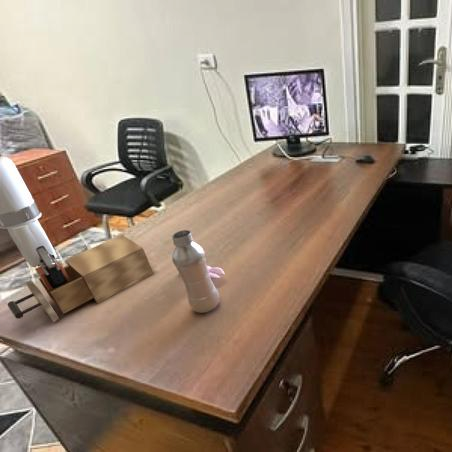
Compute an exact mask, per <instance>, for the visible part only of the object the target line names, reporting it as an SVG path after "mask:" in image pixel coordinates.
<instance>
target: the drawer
mask: <svg viewBox="0 0 452 452" xmlns="http://www.w3.org/2000/svg"><path fill="white" fill-rule="evenodd" d="M63 268H64V270H65V271H66V273H67V275H68V277H69V278H70V281H68V282H67V283H65V284H63V285H61V286H59V287H57V288H54V289H51V290H49V289H48V288H47V287H46V285H45V284H44V283H43V281H42V280H41V278H40V277H39V278H38V281H39V283H40V284H41V286H42V287H43V289H44V290H45V291H46V293H47V295H48V296H49V298H50V300H51V301H52V302H53V303H54V304H55V305H56V306H57V307H58V308H59V310H60V311H61V312H62V313H63V314H66V313H68V312H70V311H72V310H73V309H75V308H78V307H80V306H81V305H83V304H85V303H87V302H89V301H91V300H93V299H92V298H94V297H93V295H92V293H91V291H90V290H89V288H88V286H87V284H86V282H85V281H84V279H83V277H82V276H81V275H80V274H78V273H77V272H76V271H75V270H74V269H73V268H72V267H71V266H70V265H66V266H63ZM24 284H25V285H26V287H27V288H28V289H29V291H30V294H28V295H26V296H24V297H22V298H19V299H17V300H15V301H13V300H11V301H8V303H7V307H8V308H9V309H10V311H11V313H12V314H13V316H14V318H15V319H22V318H23V317H24V315H25V314H28V313H29V312H31V311H33V310H35V309H38V308H40V307H41V308H42V309H43V311H44V312H45V313H46V315H47V316H48V317H49V318H50V320H51V321H52V322H53V323H54V322H57V321H58V320H60V318H59V316H58V315H57V313H56V311H55V309H53V307H52V306H51V303H50V302H49V301H48V299H47V297H46V296H45V295H44V294H43V292H42V291H41V290H40V289H39V287H37V285H36V284H35V283H34V281H32V280H31V279H30V280H27V281H25V282H24ZM31 298H35V300H36V302H37V303H36V304H34V305H31V306H30V307H28V308H26V309H24V310H22V309H20V307H19V306H18V305H19V304H21V303H22V302H25V301H27V300H29V299H31Z"/></svg>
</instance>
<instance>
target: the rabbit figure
mask: <svg viewBox="0 0 452 452" xmlns="http://www.w3.org/2000/svg"><path fill="white" fill-rule="evenodd" d="M207 269H208V272H209V276H210V278H211V279H212V278H214V279H221V276H219V275H222V276H225V272H224V270H223V269H222V268H220V267H216V266H215V267H211V266H209V265H207ZM178 275H179V276H181V275H180V273H179V272H178Z"/></svg>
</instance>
